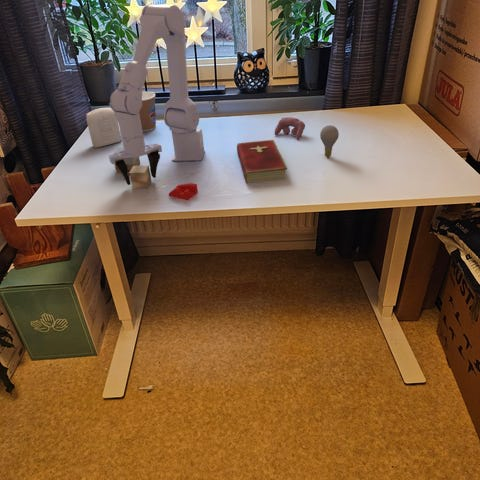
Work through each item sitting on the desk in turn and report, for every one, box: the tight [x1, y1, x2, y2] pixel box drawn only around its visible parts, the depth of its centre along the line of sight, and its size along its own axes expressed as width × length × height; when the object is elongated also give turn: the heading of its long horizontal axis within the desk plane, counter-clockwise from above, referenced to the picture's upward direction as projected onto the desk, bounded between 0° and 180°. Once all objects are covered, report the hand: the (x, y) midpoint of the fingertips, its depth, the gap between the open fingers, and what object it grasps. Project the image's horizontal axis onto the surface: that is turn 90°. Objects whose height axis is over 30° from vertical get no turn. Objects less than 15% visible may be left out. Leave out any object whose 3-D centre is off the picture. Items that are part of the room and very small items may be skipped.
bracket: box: [168, 182, 199, 202], centre depth 121 cm, size 6×5×3 cm
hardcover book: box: [236, 139, 288, 184], centre depth 134 cm, size 12×21×4 cm, turn 7°
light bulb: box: [319, 124, 340, 158], centre depth 134 cm, size 5×5×10 cm
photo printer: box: [85, 107, 122, 149], centre depth 151 cm, size 10×4×12 cm, turn 123°
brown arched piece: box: [274, 117, 306, 140], centre depth 152 cm, size 10×5×7 cm, turn 58°
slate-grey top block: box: [113, 146, 138, 166], centre depth 135 cm, size 6×6×3 cm
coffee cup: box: [139, 91, 157, 132], centre depth 162 cm, size 10×10×12 cm
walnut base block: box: [114, 156, 141, 174], centre depth 137 cm, size 6×6×3 cm
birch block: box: [128, 164, 152, 189], centre depth 127 cm, size 4×4×5 cm
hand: (141, 179), depth 127 cm, fingers open, 7 cm apart
